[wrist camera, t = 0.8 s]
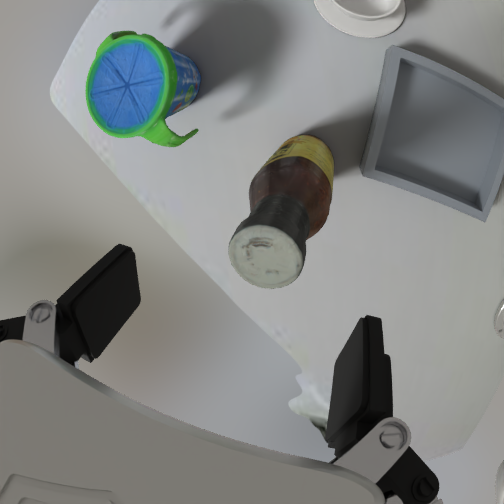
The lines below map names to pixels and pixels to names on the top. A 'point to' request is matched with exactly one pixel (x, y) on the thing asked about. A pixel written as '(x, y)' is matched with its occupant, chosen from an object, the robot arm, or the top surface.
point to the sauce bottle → (284, 213)
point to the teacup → (363, 16)
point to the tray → (436, 134)
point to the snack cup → (140, 87)
